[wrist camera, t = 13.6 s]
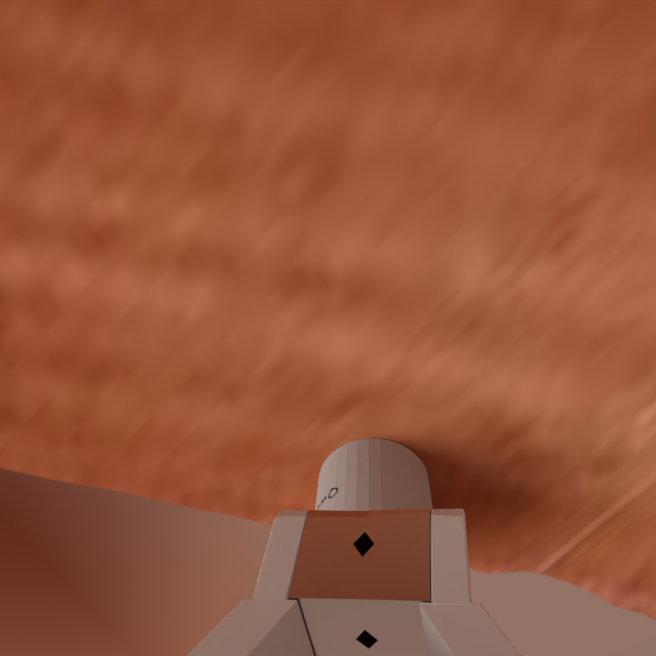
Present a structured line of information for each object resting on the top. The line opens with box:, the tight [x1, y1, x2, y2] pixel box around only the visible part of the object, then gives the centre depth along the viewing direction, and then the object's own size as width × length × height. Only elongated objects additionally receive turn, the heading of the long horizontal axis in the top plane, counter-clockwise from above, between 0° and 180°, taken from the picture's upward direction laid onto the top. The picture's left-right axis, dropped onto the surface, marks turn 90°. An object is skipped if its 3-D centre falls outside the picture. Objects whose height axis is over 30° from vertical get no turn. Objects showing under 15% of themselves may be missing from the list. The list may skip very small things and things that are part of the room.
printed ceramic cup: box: [315, 438, 433, 511], centre depth 42 cm, size 12×9×10 cm
